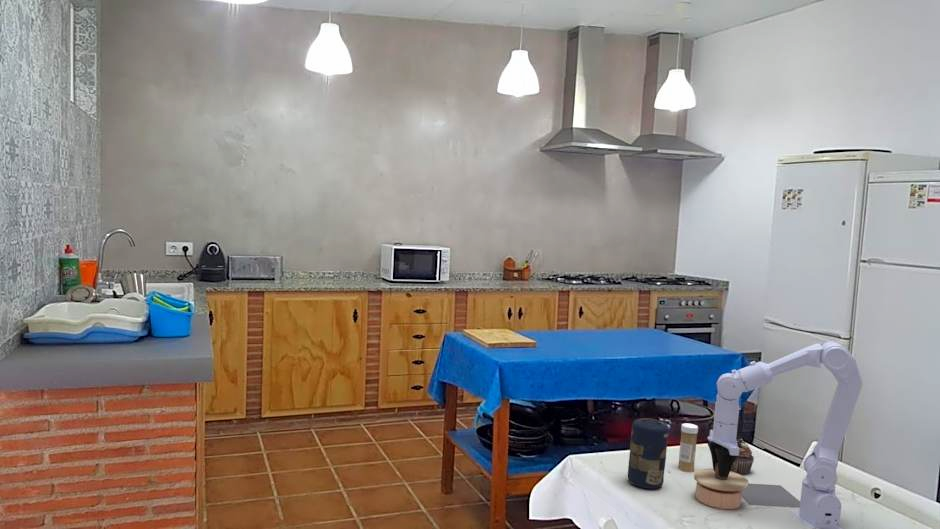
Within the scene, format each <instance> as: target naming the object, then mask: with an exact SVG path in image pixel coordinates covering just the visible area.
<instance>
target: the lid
mask: <svg viewBox="0 0 940 529" xmlns="http://www.w3.org/2000/svg"><path fill="white" fill-rule="evenodd" d="M693 474H694V475H693V479H694V481H695V482H696V483H697V482H698V483H700V484H701V485H704V486H706V487H709V488H712V489H717V490H722V491H741V490H744V489H746V488H747V487H748V483H749V480H748V478H747V477H745V476H744V475H740V474H737V473H735V472H731V471H730V473H729V475H728V477H720V476H719V474H718V463H716V467H715V471H714V470H713V468H700V469H698V470H696V471H694V472H693Z"/></svg>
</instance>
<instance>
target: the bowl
mask: <svg viewBox="0 0 940 529" xmlns="http://www.w3.org/2000/svg"><path fill="white" fill-rule="evenodd" d="M695 498H696V499H697V501H699V503H702V504H705V505H706V506H709V507H712V508H716V509H720V510H735V509H739V508H741V505H742V500H743V498H742V490H741V491H722V490H717V489H712V488H709V487H706V486H704V485H701V484H700V483H698V482H697V481H696V486H695Z"/></svg>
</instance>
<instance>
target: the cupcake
mask: <svg viewBox="0 0 940 529" xmlns="http://www.w3.org/2000/svg"><path fill="white" fill-rule="evenodd" d="M736 440H737V445H738V447H739V456H738V457H737V458H736V460H735V461H734V463H733V465H732V467H731V470H730V471H731V472H735V473H737V474H740V475H742V476H747V475H749V474H750V473H751V469H752V466H753V464H754V461H755V458H754V456H753V455H752V454H753V452H752V450H751V448H750V446H749V444H748V443H746V441H744V439H743V438H742V437H736Z"/></svg>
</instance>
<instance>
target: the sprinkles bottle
mask: <svg viewBox="0 0 940 529" xmlns="http://www.w3.org/2000/svg"><path fill="white" fill-rule="evenodd" d="M680 426H681V428H680V434H681V435H680V443H679V455H678V466H677V469H678V470H679V471H681V472H685V473H695V462H696V453H697V452H696V449H697V448H696V447H697V437H698V432H699V426H698V425H696V424H693V423H687V422H685V423H681V425H680Z"/></svg>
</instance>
